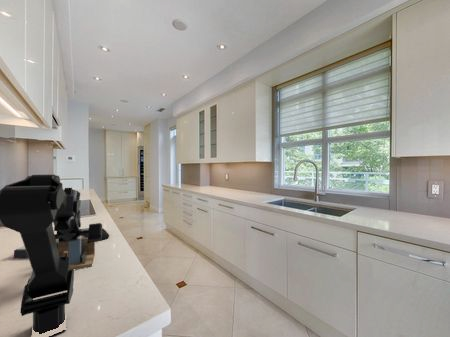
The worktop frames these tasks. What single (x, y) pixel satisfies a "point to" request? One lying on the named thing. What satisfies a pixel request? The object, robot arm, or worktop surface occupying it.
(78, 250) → the blue tall block
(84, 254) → the stand
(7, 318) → the worktop surface
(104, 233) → the carrying case or bag
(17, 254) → the calculator
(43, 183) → the robot arm
